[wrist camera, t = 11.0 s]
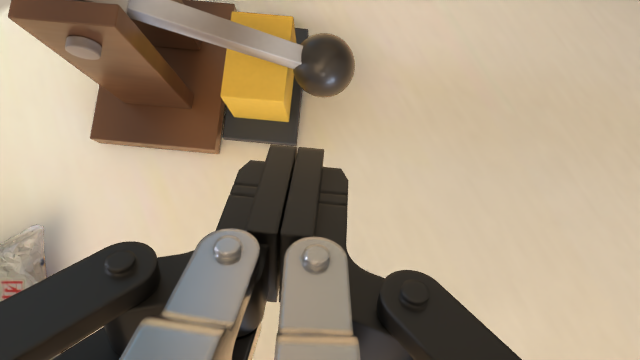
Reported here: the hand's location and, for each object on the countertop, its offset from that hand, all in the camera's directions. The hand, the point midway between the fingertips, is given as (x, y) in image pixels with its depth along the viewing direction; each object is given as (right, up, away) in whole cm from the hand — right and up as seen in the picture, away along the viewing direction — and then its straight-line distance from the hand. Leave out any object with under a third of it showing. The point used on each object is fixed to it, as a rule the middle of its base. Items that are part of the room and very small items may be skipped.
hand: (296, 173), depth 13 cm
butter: (-3, +6, +17) cm, 18 cm away
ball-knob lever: (-5, +7, +12) cm, 15 cm away
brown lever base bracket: (-9, +7, +17) cm, 21 cm away
